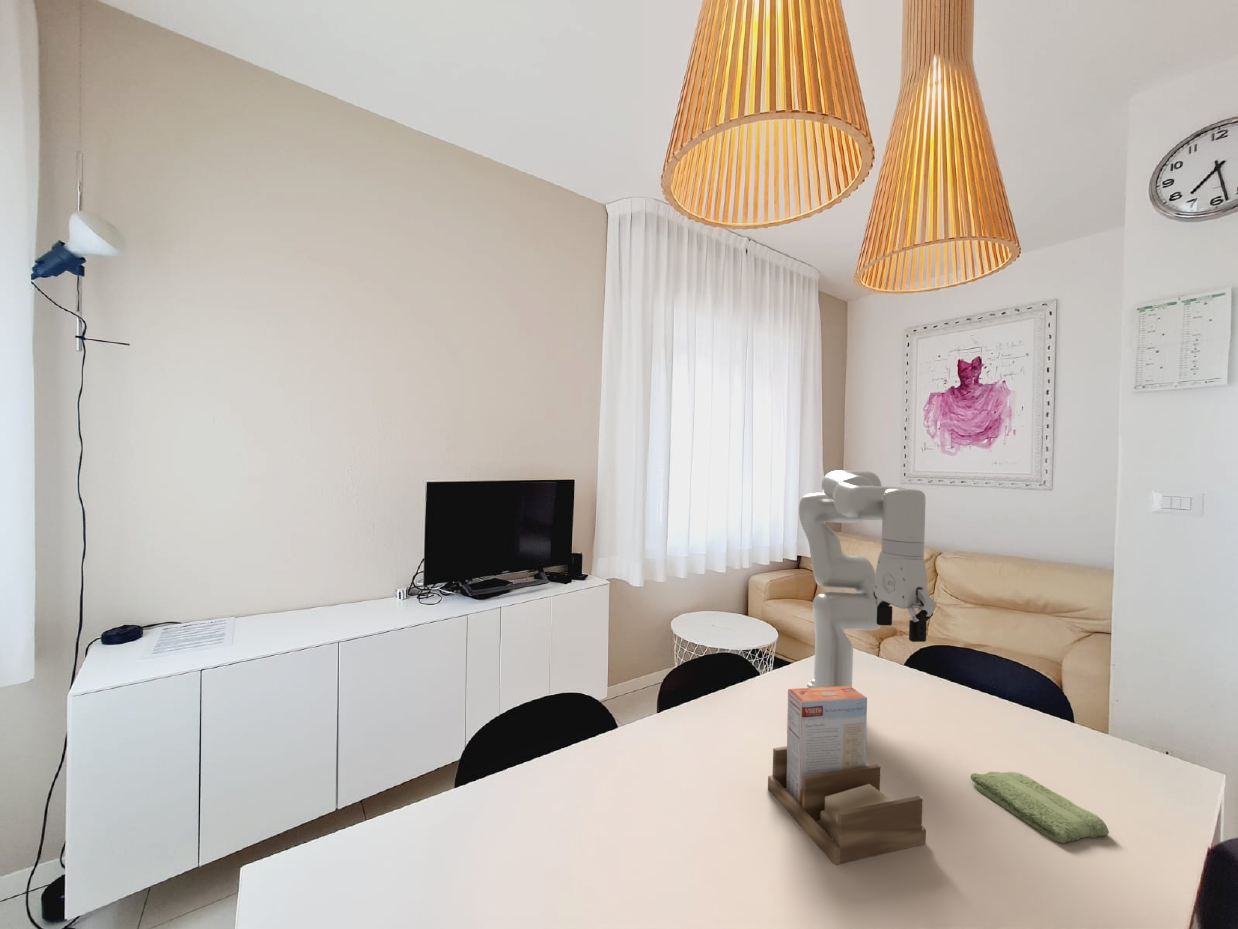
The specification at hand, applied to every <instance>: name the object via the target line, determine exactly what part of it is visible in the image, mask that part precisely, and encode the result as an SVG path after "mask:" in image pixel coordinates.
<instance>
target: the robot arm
mask: <svg viewBox="0 0 1238 929" xmlns="http://www.w3.org/2000/svg"><path fill="white" fill-rule="evenodd" d="M821 489H822V492H813V493H812V492H811V493H808V494H805V495H804V496H802V498H801V499H800V501H799V505H798V515H799V520H800V524H801V527H802V529H803V532H804V534H805V536H806V539H807V541H808V546H809V554H810V559H811V566H812V573H813V578H814V580H815V583H816V585H817V586H819V587H821V588H824V589H833V590H834V589H835V590H850V591H851V590H852V591H854V592H855V593H854V592H853V593H851V592H850V593H849V592H838V591H836V592H834V591H829V592H828V591H827V592H820V593H819V594H817V595H816V596H815V597H814V598H813V600H812V612H813V613H812V614H813V621H814V632H815V633H814V634H815V635H814V636H815V639H814V640H815V642H814V644H815V645H814V671H813V675H814V676H813V679H812V680H811V682H808V683H807V684H806V688H818V687H835V686H850V687H852V688H853V671H854V670H853V669H854V668H853V667H854V666H853V665H854V647H853V643H852V641H851V640H850V638H849V637H848V636H847V635H846V633H845V630H856V631H857V630H859V631H876V630H878V629H880V628H881V627H882V626H892V625H893V607H897V608H899V609H903V610H904V609H906V610H907V611H908V614H909V615H910V617H911V620H910V619H909V623H908V624H909V625H908V626H909V627H908V640H909V641H910V642H912V643H925V642H927V624H928V622H930V619H931V618H932V617H933V616H934V612H935V610H936V608H937V603H936V602H935V601H934V599H932V598H931V596H930V595H929V594H928V576H927V574H928V573H927V567H926V560H925V559H924V558H925V534H926V533H925V532H926V531H925V530H926V529H925V528H926V525H925V524H926V501H927V500H926V499H927V498H926V495H925V493H924V492H923V491H922V490H919V489H915V488H913V489H911V488H905V487H902V486H901V487H900V486H882V482H881V479H880V477H879V476H878V475H877V474H876V473H874V472H872V471H867V470H844V469H841V470H838V469H837V470H833V471H830V472H828V473H827V474H826V475H825V476H824V477H823V478H822V481H821ZM863 520H865V521H867V520H868V521H882V528H881V552H879V556H878V558H877V563H876V564H877V565H876V569H874V567H873V564H872V562H871V561H870V560H868V558H866V557H864V556H861V555H849V554H848V555H847V554H845V553H843V550H842V547H841V546H842V545H841V540H840V538H839V536H838V534H836V533H835V531H834V530H833V529H832V528H831V527H830V526H829V525H828V524H826V523H840V524H841V523H843V524H845V523H847V524H848V523H849V524H855V523H859V522H861V521H863ZM917 611H918V613H917Z"/></svg>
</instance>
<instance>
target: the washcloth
mask: <svg viewBox="0 0 1238 929" xmlns="http://www.w3.org/2000/svg"><path fill="white" fill-rule="evenodd" d="M970 779H971V780H972V782H973V783H974V784H973V788H974V790H976V791H978V792H979V793H981V794H983V795H984V796H985V797H986V798H988V797H989V798H988V799H990V800H991V801H993V802H994V803H996V804H997V805H998V806H1000V807H1002V808H1003V809H1005V810H1007V811H1008V812H1009V813H1011V814H1012V815H1014V816H1016V817H1017V818H1019V819H1020V820H1022V821H1023V822H1025V823H1026V824H1028V825H1029V826H1030V827H1032V828H1034V830H1037V831H1038V832H1040V833H1041V834H1043V835H1045V836H1047V838H1049V839H1050V840H1052V841H1053V842H1057V843H1060V844H1064V843H1068V842H1071V841H1073V842H1075V841H1079V840H1080V839H1083V838H1092V839H1093V838H1099V837H1103V838H1104V836H1108V834H1109V833H1110V831H1109V828H1108V827H1107V825H1106V822H1105V821H1104V820H1103V819H1102V818H1101V817H1100V816H1098V815H1097V814H1095V813H1093V812H1091V811H1090V810H1087V809H1085V808H1082V807H1081V806H1080V805H1077V804H1075V803H1074V802H1072V801H1071V800H1070V799H1068V798H1066V797H1064V796H1062V795H1060V794H1059V793H1057V792H1055V791H1053V790H1051V789H1050V788H1048V787H1045V786H1044V785H1043V784H1040V783H1039V782H1037V781H1036V780H1034V779H1033V778H1031V777H1030V776H1028V775H1026V774H1023V773H1020V772H1017V771H1005V772H1004V771H1003V772H1002V771H988V772H986V773H981V774H980V773H977V772H972V773H970Z"/></svg>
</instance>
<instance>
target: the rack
mask: <svg viewBox="0 0 1238 929" xmlns="http://www.w3.org/2000/svg"><path fill="white" fill-rule="evenodd" d="M772 752H773V753H772V775H768V776H767V790H768V791H769V792H770V793H771V794H772V795H773V796H774V797H775V799H776V800H777V801H778V802H779V803H780V805H782V806H783V808H784V809H785V810H786V811H787V812H788V814H790V816H792V818H793V819H794V820H795V821H796V822H797V824H798V825H799V826H800V827H801V828H802V829H803V830H804V832H805V833H806V834H807V835H808V836H809V837H810V839H812V841H813V842H814V843H815V844H816V845H817V847H818V848H819V849H821V851H822V852H823V853H824V854H825V856H827V858H828V859H829V860H830V861H831V862H832V864H834V866H836V865H840V864H845V863H848V862H854V861H857V860H862V859H866V858H867V859H868V858H871V857H874V856H879V855H883V854H887V853H891V852H897V851H899V850H904V849H908V848H909V849H910V848H913V847H917V846H922V845H926V840H927V839H926V838H927V828H925V827H924V826H923V824H922V823H923V798H922V797H921V796H920V795H915V796H911V797H906V798H905V797H904V798H901V799H895V800H892V801H889V802H884V803H879V804H874V805H869V806H864V807H859V808H854V809H849V810H844V811H839V812H838V830H837V844H836V843H835V842H834V841H833V840H832V839H831V838H830V836H829V835H828V834H827V833H826V832H825V831H824V830H823V829H822V828H821V827H820V824H818V823H817V821H820V813H821V811H824V810H825V797H826V796H830V795H833V794H836V793H840V792H843V791H847V790H850V789H853V788H857V787H860V786H864V785H867V784H870V785H872V786H873V787H875V788H876V789H877V790H879V791H880V792H881V790H880V789H881V766H880V765H879V764H870V765H866V766H864V767H858V768H852V769H846V770H840V771H834V772H828V773H822V774H816V775H810V776H805V777H803V778H802V807H801V806H800V805H799V803H798V802H797V801H796V800H795V799H794V798H793V797H792V796H791V795H790V794H789V793H788V792H787V791H786V773H787V745H786V746H780V747H773V748H772Z"/></svg>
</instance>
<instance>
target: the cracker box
mask: <svg viewBox="0 0 1238 929" xmlns="http://www.w3.org/2000/svg"><path fill="white" fill-rule="evenodd" d="M867 714H868V697H866V695H864V694H862V693H860V692H859V691H858V690H856V689H855V688H854V687H853V686H852V687H850V686H835V687H818V688H808V687H803V688H788V689H787V724H786V725H787V728H786V729H787V730H786V731H787V732H786V734H787V737H786V746H787V773H786V788H785V789H786V791H787V792H788V793H789V794H790V795H791V796H792V797H793V798H794V799H795V800H796V801H797V802H798V803H799V805H800V806H801V807H802V778H803V777H805V776H810V775H816V774H822V773H828V772H834V771H840V770H846V769H852V768H858V767H864V766H867V730H868V729H867V727H868V726H867V725H868V723H867V722H868V721H867V720H868V719H867V717H868V716H867Z"/></svg>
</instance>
